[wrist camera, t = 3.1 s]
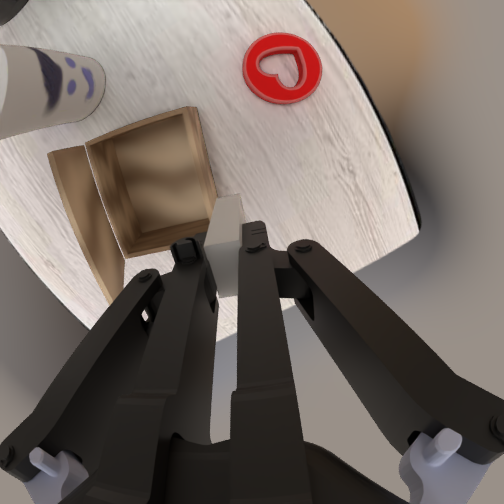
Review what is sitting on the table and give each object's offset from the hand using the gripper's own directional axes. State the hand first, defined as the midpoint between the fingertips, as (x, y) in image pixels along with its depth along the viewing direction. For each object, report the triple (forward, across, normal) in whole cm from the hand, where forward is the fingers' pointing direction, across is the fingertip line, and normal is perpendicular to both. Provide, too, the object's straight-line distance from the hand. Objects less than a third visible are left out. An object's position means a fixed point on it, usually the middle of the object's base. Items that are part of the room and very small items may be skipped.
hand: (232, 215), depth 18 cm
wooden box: (+20, -10, 0) cm, 23 cm away
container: (+20, -20, +17) cm, 34 cm away
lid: (+6, -14, 0) cm, 15 cm away
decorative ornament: (+21, +8, +11) cm, 25 cm away
